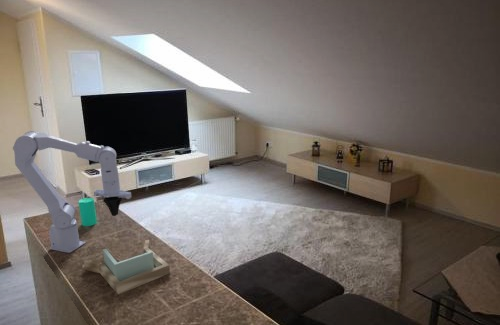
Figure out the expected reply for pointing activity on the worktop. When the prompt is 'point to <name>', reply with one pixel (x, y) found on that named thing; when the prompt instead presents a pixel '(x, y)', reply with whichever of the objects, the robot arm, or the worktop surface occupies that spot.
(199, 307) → the worktop surface
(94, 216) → the candle
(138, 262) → the l-shaped corner panel
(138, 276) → the pocket
